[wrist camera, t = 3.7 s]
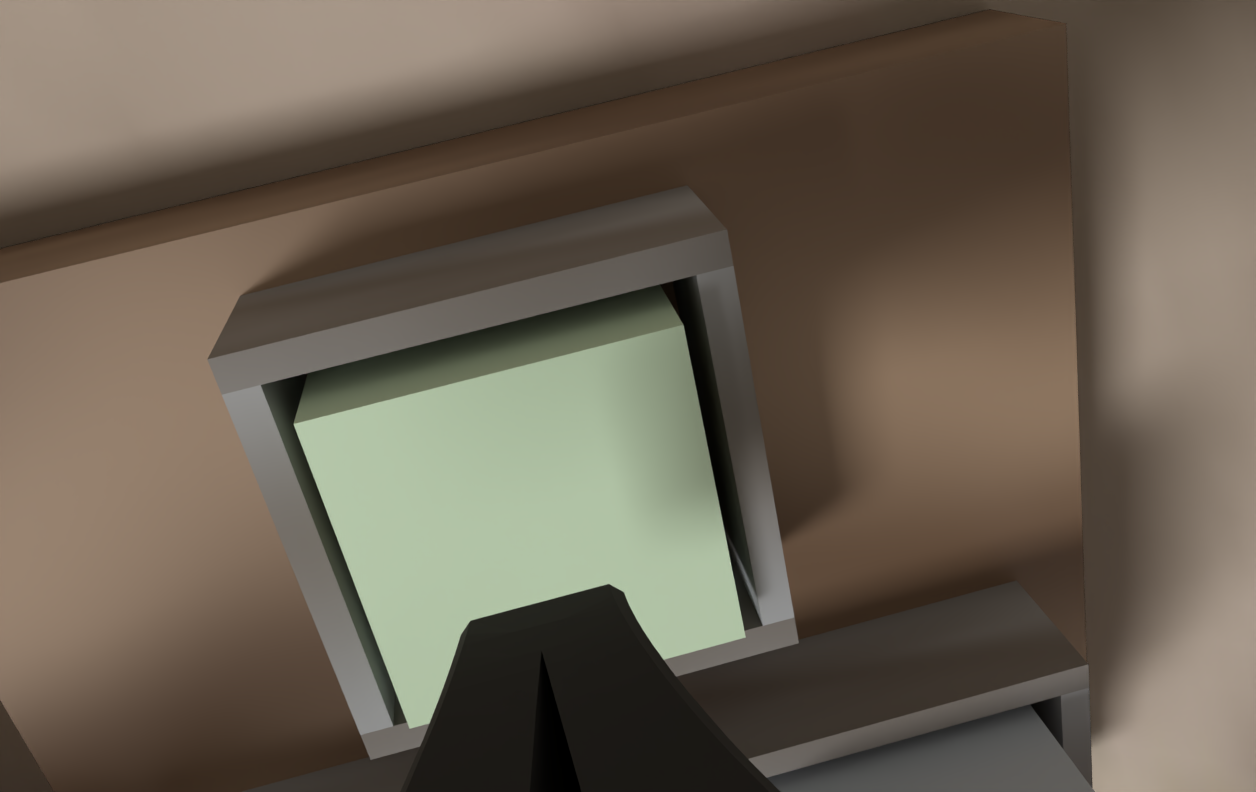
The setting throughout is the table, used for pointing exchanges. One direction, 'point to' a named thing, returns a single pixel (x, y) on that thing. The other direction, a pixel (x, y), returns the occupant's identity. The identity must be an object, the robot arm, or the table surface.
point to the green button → (523, 482)
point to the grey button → (952, 762)
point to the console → (544, 282)
